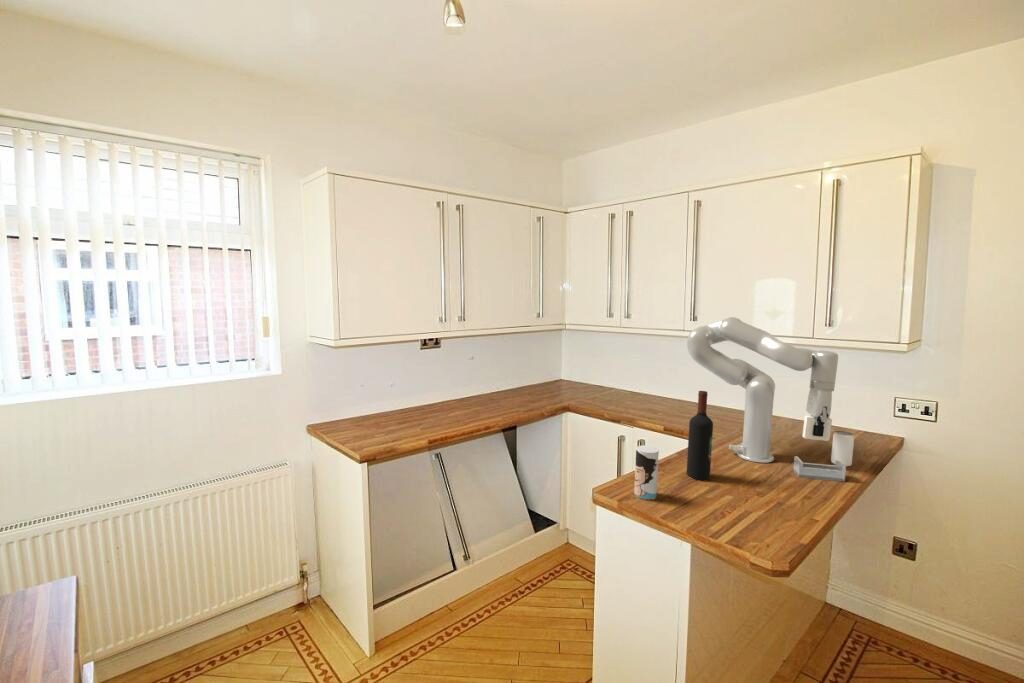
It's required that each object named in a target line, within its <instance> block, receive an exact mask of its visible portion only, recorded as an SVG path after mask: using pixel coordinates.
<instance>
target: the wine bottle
mask: <svg viewBox="0 0 1024 683" xmlns="http://www.w3.org/2000/svg"><path fill="white" fill-rule="evenodd" d="M697 397H698V399H697V412H696V414H695V415H693V416H692V417H691V418H690V420H689V424H688V425H689V426H688V437H687V438H688V442H687V456H686V457H687V458H686V459H687V460H686V461H687V462H686V474H687V475H688V476H689V477H691V478H693V479H696V480H695V481H697V480H707V481H709V480H710V479H711V464H712V451H713V450H712V448H713V430H714V429H713V428H714V423H713V420H712V419H711V418H710V417H709V416H708V414H707V406H708V405H707V404H708V403H707V402H708V391H705V390H698V396H697ZM687 475H686V476H687ZM693 479H692V480H693ZM708 479H709V480H708Z"/></svg>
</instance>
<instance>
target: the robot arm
mask: <svg viewBox="0 0 1024 683" xmlns="http://www.w3.org/2000/svg"><path fill="white" fill-rule="evenodd" d="M726 341H730V342H732V343H734V344H737V345H739V346H741V347H744V348H746V349H748V350H750V351H753V352H755V353H757V354H759V355H760V356H763V357H765V358H767V359H769V360H771V361H773V362H775V363H777V364H780V365H782V366H784V367H787V368H789V369H791V370H794V371H797V372H798V371H799V372H804V371H808V370H809V369H811V373H810V381H809V391H808V396H807V401H806V406H805V407H806V408H805V411H806V412H807V413H808V414H809V415H810V416H813V417H816V419H815V425H814V427H813V436H821V437H822V436H823V432H824V426H825V422H827V418H830V416H831V412H832V401H833V399H832V398H833V392H835V387H836V378H837V370H838V362H839V354H838V352H834V351H829V350H814V349H809V348H804V347H795V346H793V345H791V344H788V343H786V342H784V341H782V340H779V338H776V337H775V336H773V335H772V334H771V333H769V332H768V331H766V330H763V329H761V328H758V327H756V326H754V325H751V324H748V323H746V322H744V321H742V320H741V319H740V318H737V317H734V316H733V317H728V318H725V319H722V320H719V321H716V322H712V323H709V324H705V325H702V326H699V327H696V328H694V329H692V330H691V331H690V333H689V334H688V337H687V342H686V346H687V351H688V353H689V354H688V355H690V357H691V358H692V360H693V361H694V362H696V363H697V364H698V365H699V366H701V367H702V368H705V370H708V371H709V372H710V373H712V374H713V375H715V376H716V377H718V378H719V379H722V381H724V382H726V383H727V384H728V385H731V386H737V385H738V386H740V387H741V388H743V389H745V392H744V393H745V395H744V396H745V398H744V413H743V414H744V415H743V428H742V429H743V433H742V442H740V444H739V443H738V444H736V445H735V444H728V449H729V450H732V451H733V452H736V453H737V456H738V457H739V458H741V459H743V460H746V461H750V462H754V463H759V464H760V463H761V464H764V463H771V462H773V461H774V459H775V457H774V455H773V454H771V452H770V451H771V439H772V425H773V414H774V413H773V408H774V398H775V389H776V384H775V380H774V378H773V377H772V376H770V375H769V374H767V373H765V372H764V371H762V370H761V369H758V368H757V367H755V366H753V365H752V364H750V363H748V362H747V361H745V360H743V359H740V358H730V357H729V356H727V355H726V354H724V353H723V352H720V350H717V349H715V348H714V347H712V346H713V345H715V344H718V343H722V342H726ZM711 345H712V346H711ZM818 419H819V420H818Z"/></svg>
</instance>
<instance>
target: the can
mask: <svg viewBox="0 0 1024 683" xmlns="http://www.w3.org/2000/svg"><path fill="white" fill-rule="evenodd" d="M854 444H855V437H854V434H853V433H852V432H850V431H845V430H835V431H834V433H833V435H832V445H831V457H830V463H832V464H833V465H835V461H836V460H839V461H840V462H841V463H843V464H844V465H845V466H846V468H847V467H848V466H849V467H851V466H852V464H853V453H854Z"/></svg>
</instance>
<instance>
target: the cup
mask: <svg viewBox="0 0 1024 683" xmlns="http://www.w3.org/2000/svg"><path fill="white" fill-rule="evenodd" d="M658 469H659V449H658V447H654V446H651V445H638V446H636V448H635V466H634V470H635V472H634V486H633V487H634V490H633V491H634V492H633V495H634V494H635V495H636V496H637V497H640V498H644V499H652V498H655V497H656V498H657V492H658V490H657V488H658V471H659V470H658ZM635 495H634V496H635ZM636 496H635V497H636ZM637 497H636V498H637ZM656 498H655V499H656Z"/></svg>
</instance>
